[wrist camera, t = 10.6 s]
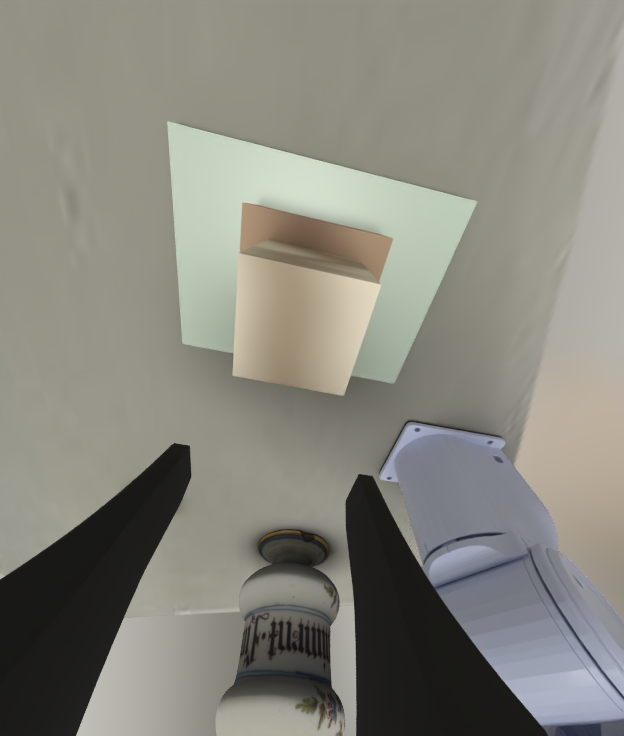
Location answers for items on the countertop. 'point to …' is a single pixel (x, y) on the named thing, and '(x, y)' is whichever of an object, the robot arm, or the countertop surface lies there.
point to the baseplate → (315, 200)
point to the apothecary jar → (285, 646)
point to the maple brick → (300, 316)
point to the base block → (313, 236)
